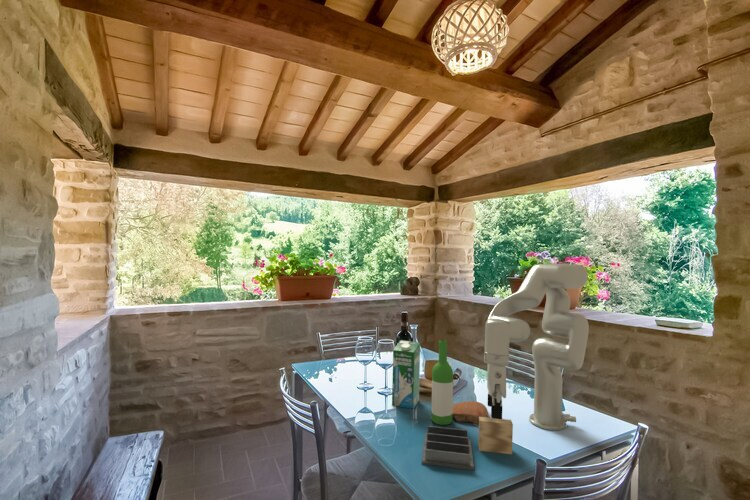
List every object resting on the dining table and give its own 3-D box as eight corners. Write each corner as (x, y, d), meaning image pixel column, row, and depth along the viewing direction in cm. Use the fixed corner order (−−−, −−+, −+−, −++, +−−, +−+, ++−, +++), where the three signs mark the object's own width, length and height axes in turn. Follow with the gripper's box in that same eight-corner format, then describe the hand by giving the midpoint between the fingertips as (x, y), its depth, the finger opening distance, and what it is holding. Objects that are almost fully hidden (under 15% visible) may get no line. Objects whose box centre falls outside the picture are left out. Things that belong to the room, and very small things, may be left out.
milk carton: (391, 405, 155) (393, 344, 155) (398, 397, 163) (400, 339, 163) (413, 409, 151) (414, 346, 152) (419, 401, 160) (420, 342, 160)
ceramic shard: (449, 394, 155) (486, 403, 152) (446, 410, 154) (484, 419, 151) (449, 402, 141) (491, 413, 138) (446, 420, 140) (488, 431, 137)
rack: (470, 441, 126) (470, 429, 126) (473, 470, 109) (474, 456, 109) (424, 436, 128) (425, 424, 128) (421, 463, 112) (422, 450, 112)
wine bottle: (456, 424, 138) (457, 342, 138) (436, 427, 136) (438, 343, 136) (446, 415, 145) (447, 338, 146) (427, 418, 143) (429, 339, 143)
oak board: (510, 449, 121) (511, 419, 121) (512, 454, 118) (512, 424, 118) (478, 445, 123) (479, 416, 123) (479, 450, 120) (479, 420, 120)
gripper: (513, 366, 112) (511, 425, 111) (504, 353, 129) (502, 403, 128) (487, 364, 113) (485, 421, 113) (481, 351, 130) (479, 401, 130)
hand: (494, 412), depth 120 cm, fingers open, 9 cm apart
